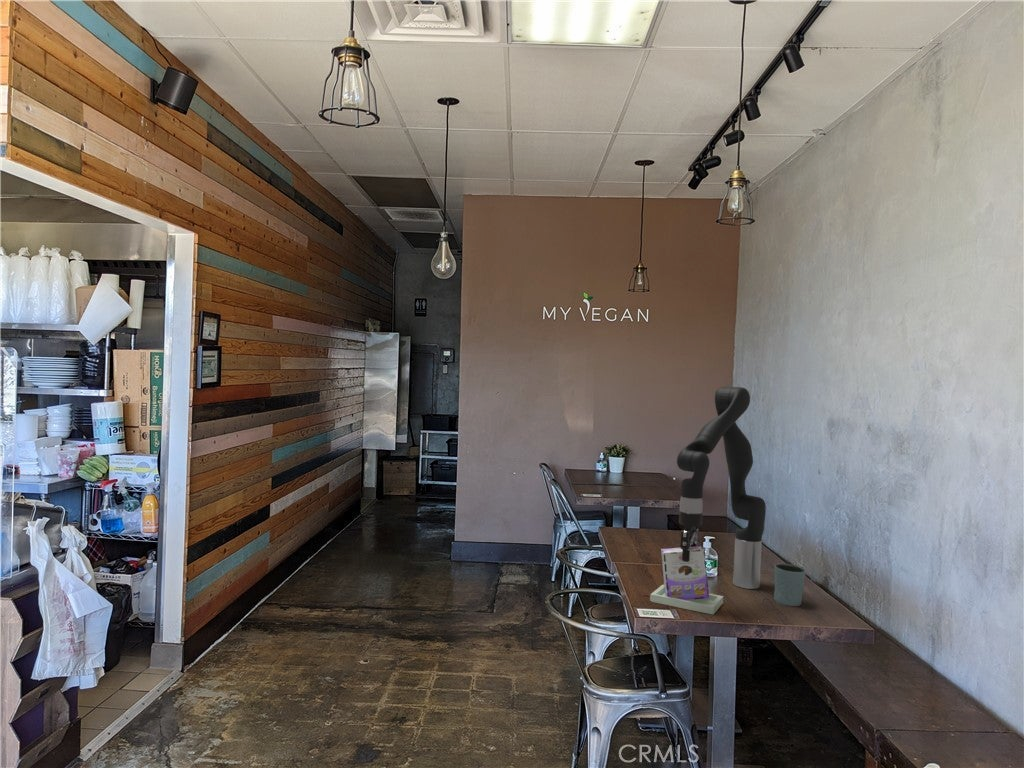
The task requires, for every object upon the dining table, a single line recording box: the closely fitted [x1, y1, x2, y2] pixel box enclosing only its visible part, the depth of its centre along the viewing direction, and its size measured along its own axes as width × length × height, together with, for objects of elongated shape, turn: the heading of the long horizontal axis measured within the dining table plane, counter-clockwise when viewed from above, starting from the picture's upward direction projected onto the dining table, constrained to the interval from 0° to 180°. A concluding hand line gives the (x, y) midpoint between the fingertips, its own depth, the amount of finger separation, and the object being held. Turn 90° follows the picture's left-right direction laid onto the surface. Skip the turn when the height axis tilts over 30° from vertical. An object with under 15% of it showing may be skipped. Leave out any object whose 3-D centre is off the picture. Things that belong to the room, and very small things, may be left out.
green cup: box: [773, 563, 807, 607], centre depth 232 cm, size 10×10×12 cm
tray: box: [649, 584, 724, 615], centre depth 226 cm, size 14×21×2 cm, turn 61°
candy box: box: [660, 545, 710, 600], centre depth 227 cm, size 14×6×16 cm, turn 86°
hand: (689, 558), depth 226 cm, fingers open, 8 cm apart
